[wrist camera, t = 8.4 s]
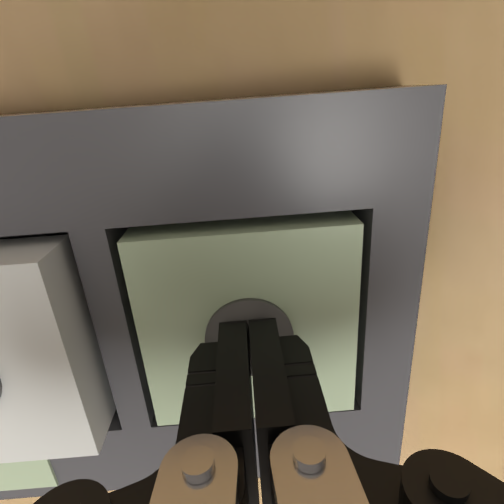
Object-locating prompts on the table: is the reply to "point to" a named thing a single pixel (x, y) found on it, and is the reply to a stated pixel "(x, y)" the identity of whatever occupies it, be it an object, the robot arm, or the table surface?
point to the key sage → (245, 293)
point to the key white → (48, 356)
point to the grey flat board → (224, 208)
